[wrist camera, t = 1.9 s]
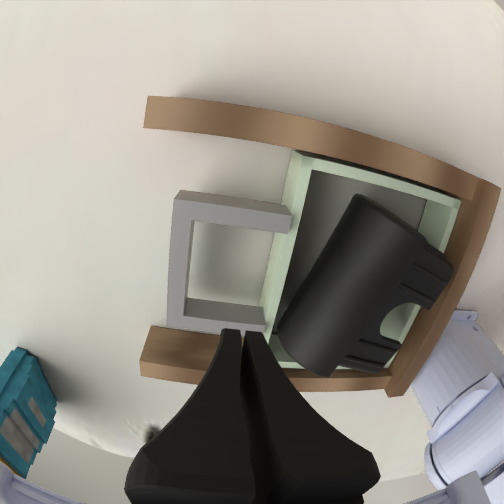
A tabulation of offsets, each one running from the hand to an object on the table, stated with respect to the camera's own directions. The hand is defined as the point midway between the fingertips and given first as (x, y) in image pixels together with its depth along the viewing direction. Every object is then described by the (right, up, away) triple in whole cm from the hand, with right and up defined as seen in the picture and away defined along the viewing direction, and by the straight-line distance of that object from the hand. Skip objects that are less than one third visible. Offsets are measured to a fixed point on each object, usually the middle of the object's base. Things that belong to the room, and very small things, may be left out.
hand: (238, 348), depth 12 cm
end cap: (+7, +3, +10) cm, 12 cm away
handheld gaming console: (-24, -10, +14) cm, 29 cm away
